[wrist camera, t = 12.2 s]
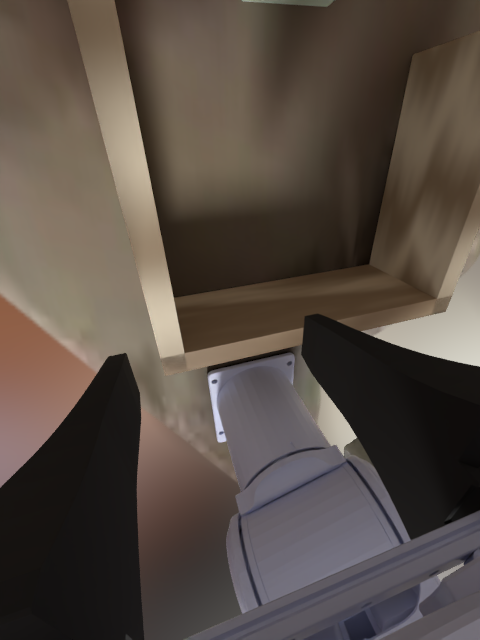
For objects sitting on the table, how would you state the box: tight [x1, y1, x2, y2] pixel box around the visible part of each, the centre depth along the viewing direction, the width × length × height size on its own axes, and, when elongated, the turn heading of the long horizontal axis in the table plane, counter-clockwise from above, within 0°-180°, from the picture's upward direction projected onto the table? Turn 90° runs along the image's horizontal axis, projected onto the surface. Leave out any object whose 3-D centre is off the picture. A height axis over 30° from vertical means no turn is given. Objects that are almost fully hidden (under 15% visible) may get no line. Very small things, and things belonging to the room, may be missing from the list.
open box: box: [67, 0, 480, 376], centre depth 15 cm, size 14×18×6 cm
